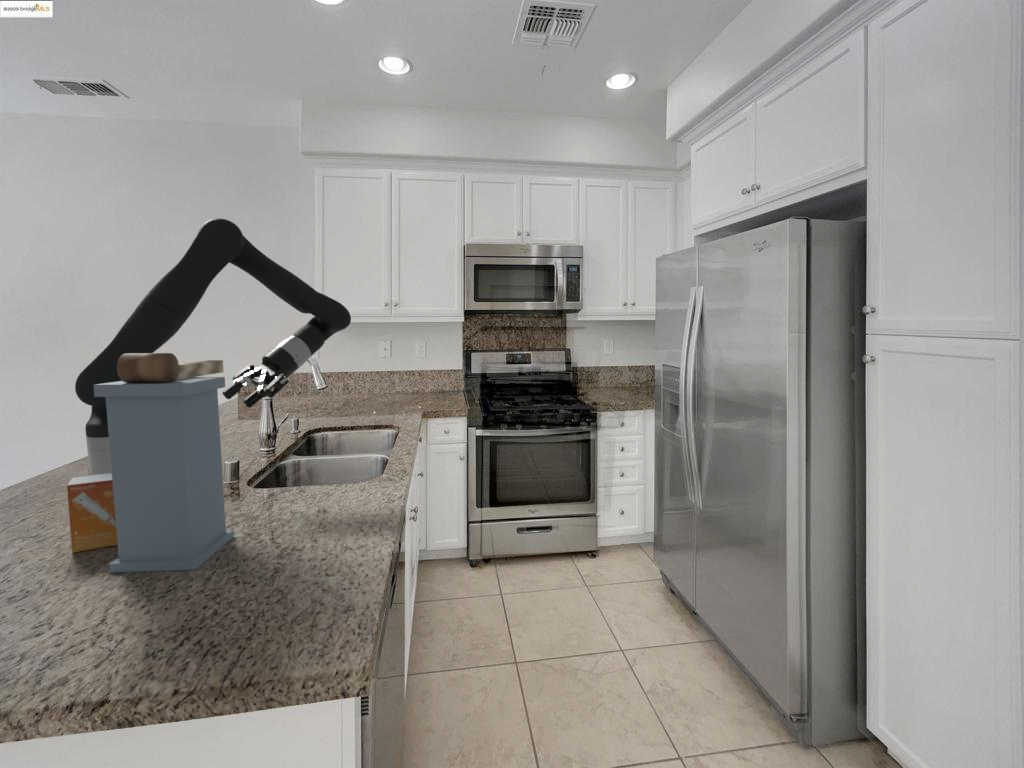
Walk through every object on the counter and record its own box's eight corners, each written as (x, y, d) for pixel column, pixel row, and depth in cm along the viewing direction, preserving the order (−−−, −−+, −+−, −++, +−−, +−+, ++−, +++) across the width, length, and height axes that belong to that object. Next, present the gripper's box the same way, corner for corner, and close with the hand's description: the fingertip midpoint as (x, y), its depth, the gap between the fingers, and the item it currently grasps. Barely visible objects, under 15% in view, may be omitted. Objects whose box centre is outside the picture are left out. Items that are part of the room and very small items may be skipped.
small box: (71, 554, 93) (65, 485, 92) (77, 542, 99) (71, 476, 97) (126, 544, 98) (121, 478, 96) (129, 533, 103) (124, 470, 102)
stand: (109, 572, 86) (93, 384, 83) (160, 539, 100) (148, 377, 97) (195, 569, 87) (182, 384, 84) (234, 537, 101) (224, 376, 98)
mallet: (162, 383, 84) (160, 353, 84) (118, 384, 84) (115, 353, 83) (234, 372, 109) (232, 348, 108) (200, 372, 108) (198, 349, 108)
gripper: (262, 340, 129) (209, 382, 120) (298, 350, 122) (244, 396, 113) (277, 363, 134) (227, 404, 125) (312, 374, 127) (262, 419, 117)
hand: (235, 400), depth 119 cm, fingers open, 8 cm apart
